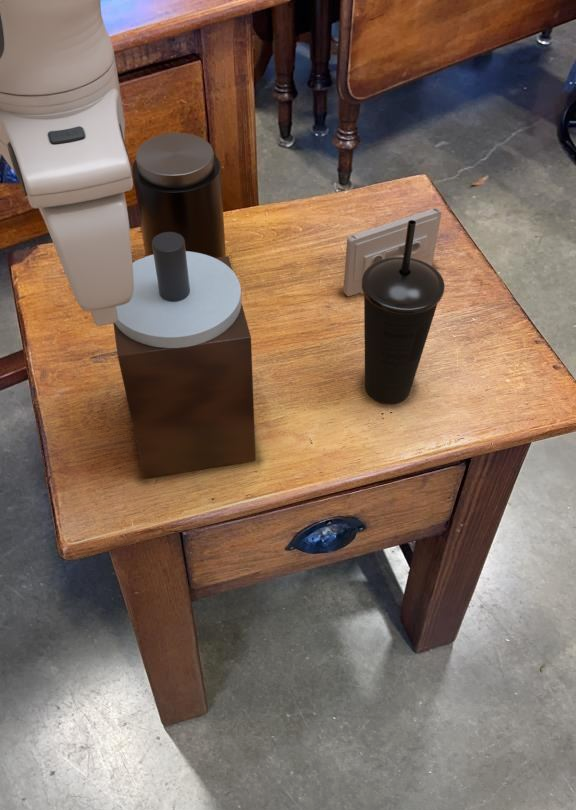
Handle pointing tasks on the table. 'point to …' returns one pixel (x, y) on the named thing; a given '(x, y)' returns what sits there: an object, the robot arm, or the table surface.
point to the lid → (179, 296)
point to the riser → (191, 400)
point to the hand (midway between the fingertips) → (92, 280)
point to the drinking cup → (397, 321)
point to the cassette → (389, 246)
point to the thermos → (180, 192)
